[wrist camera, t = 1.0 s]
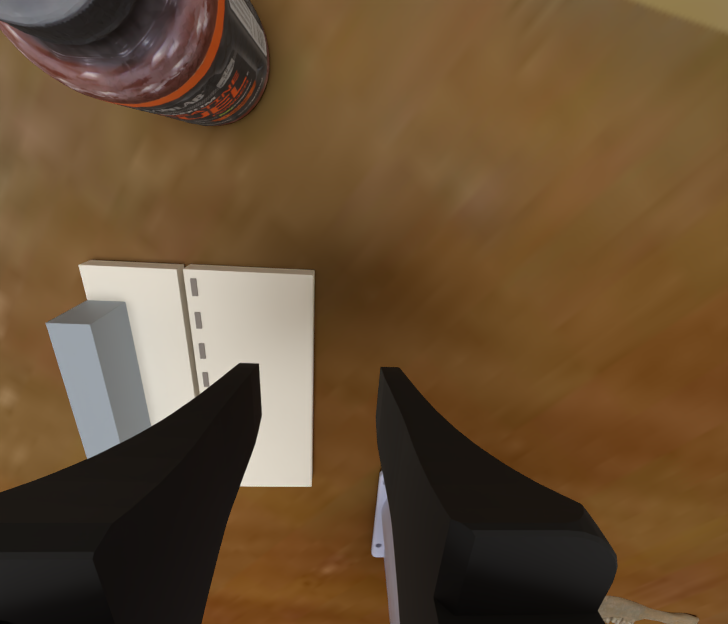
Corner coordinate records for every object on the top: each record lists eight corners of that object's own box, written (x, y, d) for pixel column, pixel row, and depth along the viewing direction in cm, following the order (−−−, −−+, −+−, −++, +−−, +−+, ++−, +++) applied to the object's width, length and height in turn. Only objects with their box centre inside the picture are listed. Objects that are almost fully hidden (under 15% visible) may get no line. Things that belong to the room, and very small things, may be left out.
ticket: (312, 475, 27) (311, 488, 26) (217, 474, 27) (211, 487, 26) (314, 270, 21) (313, 275, 20) (190, 264, 20) (181, 269, 19)
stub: (212, 475, 26) (190, 526, 23) (141, 475, 26) (108, 527, 22) (184, 264, 20) (148, 287, 17) (90, 259, 20) (33, 282, 16)
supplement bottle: (199, 152, 18) (4, 143, 8) (111, 25, 16) (-319, -220, 6) (298, 85, 17) (227, -27, 7) (219, -60, 15) (-58, -538, 5)
